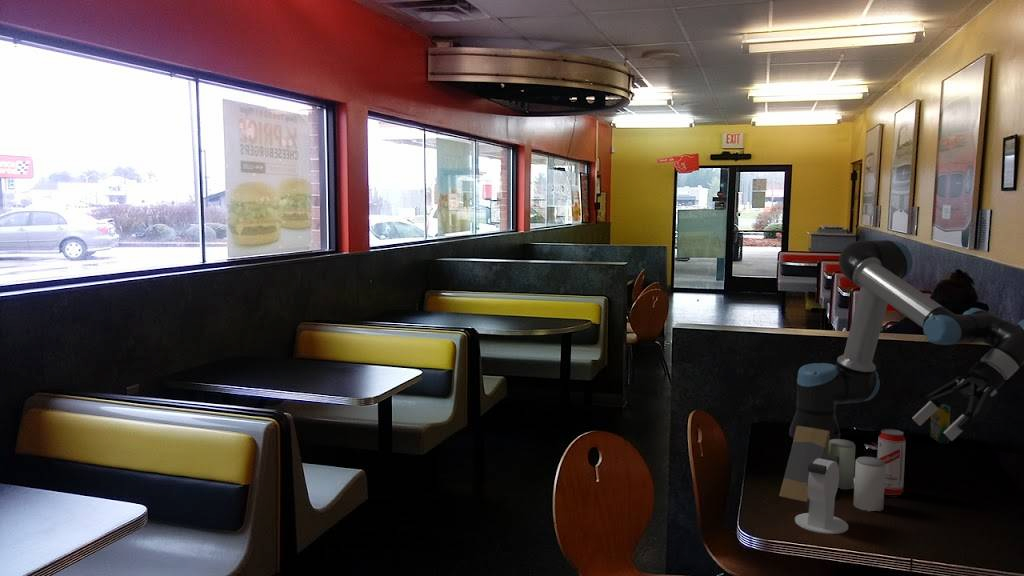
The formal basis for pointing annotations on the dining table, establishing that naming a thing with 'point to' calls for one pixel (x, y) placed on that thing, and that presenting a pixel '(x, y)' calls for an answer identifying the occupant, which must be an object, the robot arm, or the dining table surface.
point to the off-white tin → (869, 484)
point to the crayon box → (940, 424)
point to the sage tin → (844, 461)
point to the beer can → (892, 459)
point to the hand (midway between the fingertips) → (931, 429)
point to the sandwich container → (803, 460)
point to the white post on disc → (822, 497)
